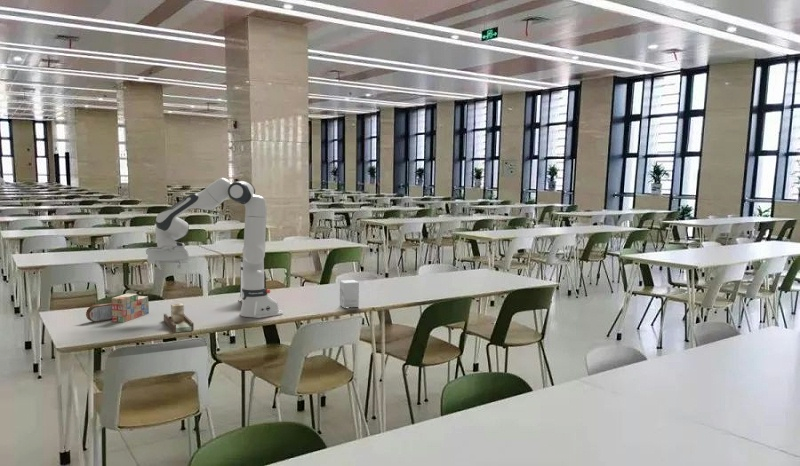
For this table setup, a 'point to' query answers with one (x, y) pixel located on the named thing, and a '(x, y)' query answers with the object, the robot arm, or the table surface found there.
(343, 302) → the supplement box
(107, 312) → the tin
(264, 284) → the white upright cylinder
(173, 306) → the birch block
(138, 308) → the stack of blocks
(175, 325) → the walled track
